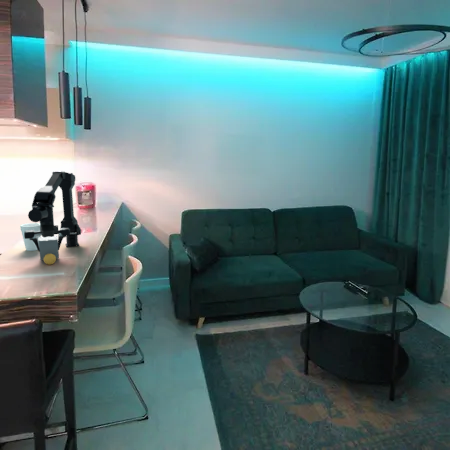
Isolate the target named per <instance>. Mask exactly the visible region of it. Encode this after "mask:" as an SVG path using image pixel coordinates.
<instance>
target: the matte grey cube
mask: <svg viewBox="0 0 450 450" xmlns="http://www.w3.org/2000/svg"><path fill="white" fill-rule="evenodd" d="M39 249H40V252H39V256H40V257H39V260H40V261H42V260H43V261H44V256H45V255H47V254H54V255H55V257H56V259H59V258H60V252H59V250H60V249H59V250H58V235H54V236H53V237H42V236H41V237H39Z"/></svg>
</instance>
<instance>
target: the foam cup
mask: <svg viewBox="0 0 450 450" xmlns="http://www.w3.org/2000/svg"><path fill="white" fill-rule="evenodd" d="M19 229H20V232H21V235H22V239H23V242H24V243H23V244H24V247H25V250H26V251H30V252H31V251H33V252H34V251H38V249H37V247H36V245H35V243H34V242H33V241H32V240H30V238H29V239H25V237H24V232H25V231H26V230H34V232H39V231H40V222H39V223H38V222H29V223H27V222H26V223H23V224H20V228H19ZM39 237H42V235H39V236H37V239H38V244H39Z"/></svg>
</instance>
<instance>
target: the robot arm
mask: <svg viewBox="0 0 450 450" xmlns="http://www.w3.org/2000/svg"><path fill="white" fill-rule="evenodd" d="M51 173H52V175H50V177H49V179H48V180H47V181H46V183H45V186H43V187H41V188H39V189H38V190H37V191H36V192H35V194H34V196H33V200H32V203H31V208H32V209H31V210H29V211H28V215H27V216H28V219H29V221H31V223H38V222H39V223H40V231H39V232H34V230H26V231H25V232H24V237H25V239H29V238H30V240H32V241H33V242H34V243H35V245H36V247H37V249H38V250H37V251H38V253H40V249H39V244H38V239H37V236H39V235H41V237H53V236H55V235H57V239H58V250H60V248H61V244H62V242H63V239H64V238H65V240H66V243H65V247H66V248H70V247H79V246H80V244H79V238H78V236H80V235H81V234H82V229H81V227H80V225H79V224H78V223H79V222H78V220H77V218H76V217H75V216H74V200H73V188H74V186H75V185H76V175H74V173H73V172H65V171H63V170H54V171H52V172H51ZM58 188H60V189H61V192H62V193H61V195H62V196H61V197H62V207H63V218H62V220H60V228H59V225H55V223H54V222H55V220H54V207H55V206H54V203H55V200H56V197H57V196H56V191H57V189H58Z"/></svg>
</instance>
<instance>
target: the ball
mask: <svg viewBox="0 0 450 450" xmlns="http://www.w3.org/2000/svg"><path fill="white" fill-rule="evenodd" d="M56 261H57V258H56V257H55V255H54V254H47V255H45V256H44V260H43V263H45V264H46V265H48V266H49V265H53V264H55V262H56Z"/></svg>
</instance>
